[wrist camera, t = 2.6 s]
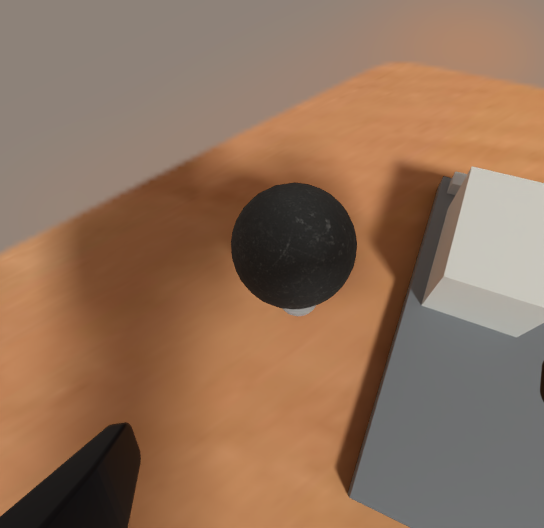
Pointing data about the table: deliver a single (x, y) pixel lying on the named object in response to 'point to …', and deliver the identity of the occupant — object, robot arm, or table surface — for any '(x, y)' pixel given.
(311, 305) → the black light bulb
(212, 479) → the table surface
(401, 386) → the board
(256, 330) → the table surface
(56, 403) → the table surface
